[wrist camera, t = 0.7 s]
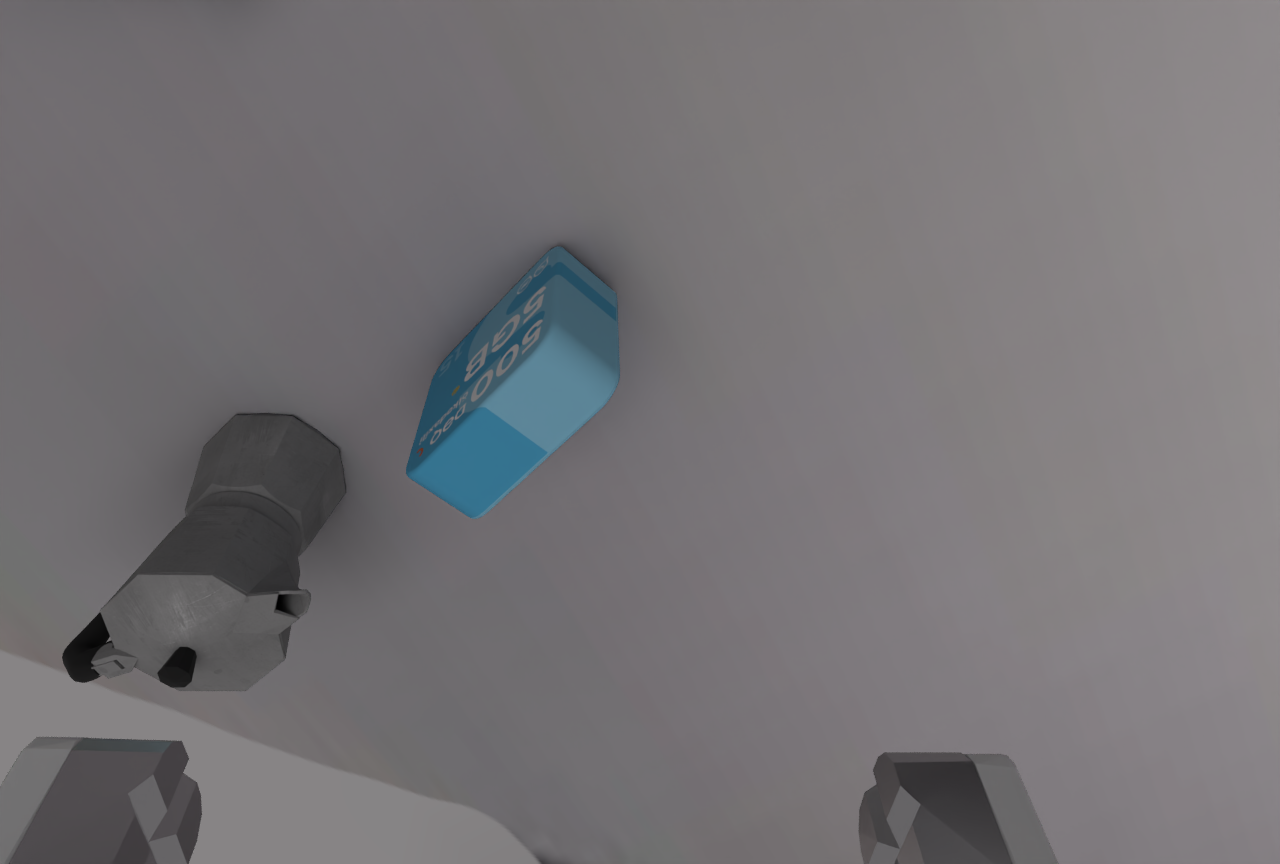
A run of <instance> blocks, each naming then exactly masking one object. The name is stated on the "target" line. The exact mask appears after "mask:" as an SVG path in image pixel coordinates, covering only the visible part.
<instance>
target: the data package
mask: <svg viewBox="0 0 1280 864" xmlns="http://www.w3.org/2000/svg"><path fill="white" fill-rule="evenodd" d="M619 378H620V363H619V336H618V309H617V295H616V293H615V292H614V291H613V290H612V289H611V288H609V287H608V286H607V285H606V284H605V283H604V282H602V281H601V280H600V279H599V278H598V277H597V276H595V275H594V274H593V273H592V272H591V271H589V270H588V269H587V268H586V267H585V266H584V265H582V264H581V263H580V262H579V261H578V260H577V259H575V258H574V257H573V256H572V255H571V254H570V253H568V252H567V251H566V250H565V249H564V248H562V247H559V246H558V247H555V248H553V249H551V250H550V251H548V252H547V253H546V254H545V255H544V256H543V257H542V258H541V259H540V260H539V261H538V262H537V263H536V264H535V265H534V266H533V267H532V268H531V269H530V270H529V271H528V273H527V274H526V275H525V276H524V277H523V278H522V279H521V280H520V281H519V282H518V283H517V284H516V285H515V286H514V287H513V288H512V289H511V290H510V291H509V292H508V293H507V294H506V296H505V297H504V298H503V299H502V300H501V301H500V302H499V303H498V304H497V305H496V306H495V307H494V308H493V309H492V310H491V311H490V312H489V313H488V314H487V315H486V316H485V317H484V318H483V320H482V321H481V322H480V323H479V324H478V325H477V326H476V327H475V328H474V329H473V330H472V331H471V332H470V333H469V334H468V335H467V336H466V337H465V338H464V339H463V340H462V341H461V342H460V344H459V345H458V346H457V347H456V348H455V349H454V350H453V351H452V352H451V353H450V354H449V355H448V356H447V357H446V359H445V360H444V361H443V362H442V364H441V365H440V367H439V368H438V370H437V371H436V373H435V375H434V377H433V379H432V382H431V385H430V389H429V392H428V396H427V399H426V402H425V406H424V409H423V413H422V416H421V419H420V423H419V426H418V430H417V433H416V436H415V440H414V443H413V447H412V450H411V453H410V457H409V460H408V464H407V467H406V474H407V476H408V477H409V478H410V479H412V480H413V481H415V482H416V483H418V484H419V485H421V486H423V487H424V488H426V489H427V490H429V491H430V492H432V493H433V494H435V495H436V496H438V497H439V498H441V499H442V500H444V501H445V502H447V503H448V504H450V505H452V506H453V507H455V508H456V509H458V510H459V511H461V512H462V513H464V514H465V515H467V516H468V517H470V518H472V519H477V518H480V517H482V516H484V515H485V514H486V513H488V512H489V511H490V510H491V509H492V508H493V507H494V506H495V505H496V504H497V503H499V502H500V501H501V500H502V499H503V498H504V497H505V496H506V495H507V494H508V493H510V492H511V491H512V490H513V489H514V488H515V487H516V486H517V485H518V484H519V483H521V482H522V481H523V480H524V479H525V478H526V477H527V476H528V475H529V474H530V473H531V472H533V471H534V470H535V469H536V468H537V467H538V466H539V465H540V464H541V463H542V462H544V461H545V460H546V459H547V458H548V457H549V456H550V455H551V454H552V453H553V452H555V451H556V450H557V449H558V448H559V447H560V446H561V445H562V444H563V443H564V442H565V441H567V440H568V439H569V438H570V437H571V436H572V435H573V434H574V433H575V432H576V431H578V430H579V429H580V428H581V427H582V426H583V425H584V424H585V423H586V422H587V421H589V420H590V419H591V418H592V417H593V416H594V415H595V414H596V413H597V412H598V411H599V410H601V409H602V407H603V406H604V405H605V404H606V403H607V402H608V400H609V399H610V398H611V396H612V395H613V393H614V391H615V389H616V387H617V385H618V382H619Z"/></svg>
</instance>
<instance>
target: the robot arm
mask: <svg viewBox="0 0 1280 864" xmlns="http://www.w3.org/2000/svg"><path fill="white" fill-rule="evenodd" d="M188 760H189V758H188V755H187V753H186V750H185V748H184V745H183V743H182V741H165V740H132V739H99V738H84V737H81V738H80V737H36V738H35V739H34V740H33V741H32V742H31V743H30V744H29V745H28V746H27V747H26V748H24V749H23V751H21V753H20V755H19V756H18V758H17V759H16V761H15V763H14V764H13V766H12V768H11V769H10V771H9V773H8V774H7V776H6V778H5V779H4V781H3V782H2V784H1V786H0V864H189V861H190V858H191V855H192V853H193V850H194V847H195V845H196V842H197V837H198V832H199V826H200V821H201V815H202V808H201V794H200V791H199V788H198V784H197V782H196V781H194V780H193V779H191V778H190V777H188V776H187V775H185V774H184V773H183V772H184V769H185V767H186V765H187V762H188ZM873 772H874V775H875V779H876V783H877V784H876V785H875V786H873V787H872V788H870V789H869V790H867V791H866V792H865V793H864V796H863V800H862V803H861V806H860V809H859V839H860V847H861V853H862V857H863V862H864V864H1058V861H1057V859H1056V857H1055V854H1054V852H1053V850H1052V848H1051V845H1050V843H1049V841H1048V838H1047V836H1046V834H1045V832H1044V829H1043V827H1042V825H1041V822H1040V820H1039V818H1038V816H1037V813H1036V811H1035V809H1034V806H1033V804H1032V802H1031V799H1030V797H1029V795H1028V793H1027V790H1026V788H1025V786H1024V783H1023V781H1022V779H1021V777H1020V774H1019V772H1018V770H1017V767H1016V765H1015V763H1014V762H1013V761H1012V760H1011V759H1010V758H1009V757H1008V756H1007V755H1003V754H962V753H957V752H884V753H883V754H882V755H880V756H879V757H878V759H877V761H876V764H875V766H874V769H873Z"/></svg>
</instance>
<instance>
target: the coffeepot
mask: <svg viewBox="0 0 1280 864" xmlns="http://www.w3.org/2000/svg"><path fill="white" fill-rule="evenodd" d="M345 493H346V489H345V483H344V471H343V465H342V462H341V458H340V454H339V449H338V448H337V447H336V446H335V445H334V444H332V443H331V442H330V441H329V440H328V439H327V438H326V437H325V436H323V435H322V434H321V433H320V432H319V431H318V430H316V429H314V428H313V427H311V426H310V425H308V424H306V423H304V422H302V421H299V420H298V419H296V418H295V417H293V416H288V415H280V414H270V413H259V414H250V415H235V416H234V417H233V418H232V419H231V420H230V421H229V422H228V423H227V424H226V425H225V426H224V427H222V428H221V430H220V431H219V432H218V433H217V434H216V435H215V436H214V437H213V438H212V439H211V440H210V441H209V442H208V443H207V444H206V445H205V446H204V448H203V451H202V454H201V458H200V461H199V464H198V468H197V471H196V474H195V478H194V481H193V485H192V488H191V491H190V495H189V498H188V501H187V505H186V508H185V513H186V517H185V518H184V519H183V520H182V521H181V522H180V523H179V524H178V525H177V526H176V527H175V528H174V529H173V530H172V531H171V532H170V533H169V534H168V535H167V536H166V537H165V539H164V540H163V541H162V542H161V543H160V544H159V545H158V546H157V548H156V549H155V550H154V551H153V552H152V553H151V554H150V555H149V557H148V558H147V559H146V560H145V561H144V562H143V563H142V564H141V566H140V567H139V568H138V569H137V570H136V571H135V572H134V573H133V575H132V576H131V577H130V578H129V579H128V580H127V581H126V582H125V584H124V585H123V586H122V587H121V588H120V589H119V590H118V591H117V593H116V594H115V595H114V596H113V597H112V598H111V599H110V600H109V602H108V603H107V604H106V605H105V606H104V607H103V608H101V610H100V613H99V614H98V615H97V616H96V617H95V618H94V619H93V620H92V621H91V622H90V623H89V624H88V625H87V627H86V628H85V629H84V630H83V631H82V632H81V633H80V634H79V635H78V636H77V637H76V638H75V639H74V640H73V641H72V642H71V643H70V644H69V645H68V646H67V648H66V649H65V651H64V653H63V656H62V659H63V663H64V665H65V667H66V669H67V671H68V673H69V675H70V677H71V678H72V679H73V680H74V681H77V682H82V683H83V682H84V683H85V682H89V681H92V680H94V679H97V678H98V677H100V676H101V675H105V676H106V677H107V678H108V679H109V678H112V677H115V676H119V675H122V674H125V673H129V672H131V671H132V669H133V668H134V667H135V668H137V669H139V670H141V671H143V672H144V673H146V674H148V675H150V676H152V677H154V678H156V679H158V680H160V682H162V683H164V684H166V685H168V686H170V687H172V688H175V689H177V690H178V691H246V690H248V689H249V688H250V687H251V686H253V685H254V684H255V683H256V682H258V681H259V680H260V679H261V678H263V677H264V676H265V675H266V674H268V673H269V672H270V671H271V670H273V669H274V668H275V667H276V666H278V665H279V664H280V663H281V662H283V661H284V660H285V658H286V652H287V647H288V641H289V635H290V629H291V625H292V624H293V623H294V622H296V621H297V620H298V619H299V617H301V616H302V615H304V614H305V613H307V610H308V608H309V605H310V601H311V594H310V593H309V592H308V590H301V589H299V588H298V582H299V577H300V569H299V562H298V556H300V555H301V553H302V552H303V551H304V550H305V549H306V548H307V547H308V546H309V544H310V543H311V542H312V540H313V539H314V537H315V536H316V534H317V533H318V532H319V530H320V529H321V527H322V526H323V524H324V523H325V522H326V520H327V519H328V517H329V516H330V514H331V513H332V512H333V510H334V509H335V507H336V506H337V504H338V503H339V502H340V500H341V499H342V497H343V496H344V494H345ZM109 637H111V640H112V641H109V642H107V640H108V638H109ZM106 642H107V643H106Z"/></svg>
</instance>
